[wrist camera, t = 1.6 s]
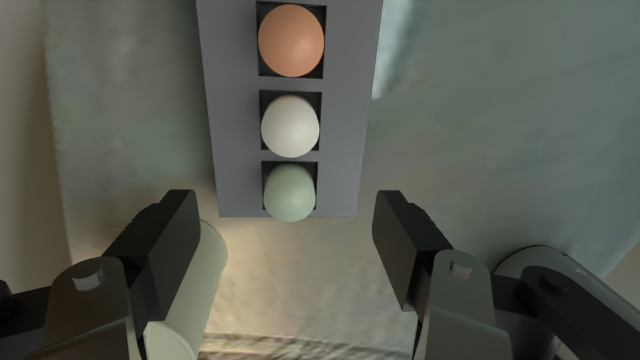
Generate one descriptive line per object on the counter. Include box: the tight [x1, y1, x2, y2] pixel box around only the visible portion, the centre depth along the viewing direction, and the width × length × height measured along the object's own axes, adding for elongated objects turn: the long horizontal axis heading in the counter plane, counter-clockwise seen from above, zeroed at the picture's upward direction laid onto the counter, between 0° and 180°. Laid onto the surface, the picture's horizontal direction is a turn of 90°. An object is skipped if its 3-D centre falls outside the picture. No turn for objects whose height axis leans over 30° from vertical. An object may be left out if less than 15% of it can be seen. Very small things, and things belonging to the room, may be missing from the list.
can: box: [144, 220, 227, 360], centre depth 25 cm, size 9×9×12 cm
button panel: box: [196, 0, 383, 217], centre depth 24 cm, size 12×17×3 cm
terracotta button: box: [258, 4, 324, 77], centre depth 19 cm, size 4×4×3 cm
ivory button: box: [261, 93, 319, 158], centre depth 22 cm, size 4×4×3 cm
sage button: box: [263, 161, 316, 222], centre depth 24 cm, size 4×4×3 cm
